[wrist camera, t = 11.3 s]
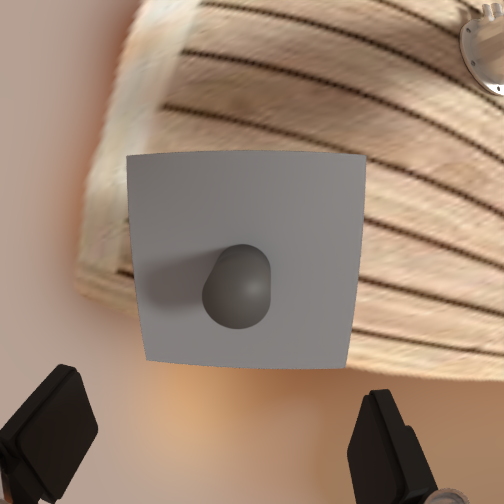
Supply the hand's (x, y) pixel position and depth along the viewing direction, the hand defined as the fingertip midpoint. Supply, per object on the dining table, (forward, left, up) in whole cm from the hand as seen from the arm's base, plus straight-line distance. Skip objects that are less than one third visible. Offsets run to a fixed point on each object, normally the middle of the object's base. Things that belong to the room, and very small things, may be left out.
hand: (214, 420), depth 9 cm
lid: (0, 0, -16) cm, 16 cm away
